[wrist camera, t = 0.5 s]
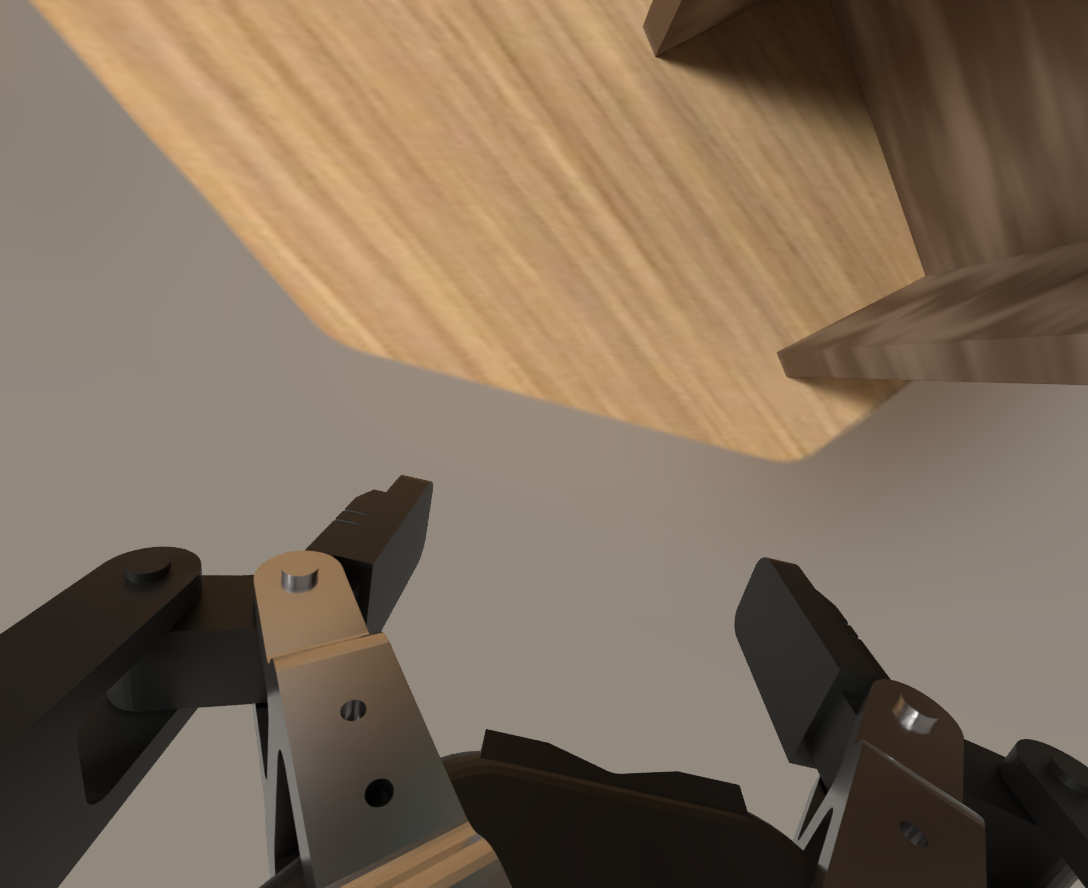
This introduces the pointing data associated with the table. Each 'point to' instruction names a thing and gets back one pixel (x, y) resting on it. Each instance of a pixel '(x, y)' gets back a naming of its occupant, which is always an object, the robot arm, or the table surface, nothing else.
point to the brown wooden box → (962, 185)
